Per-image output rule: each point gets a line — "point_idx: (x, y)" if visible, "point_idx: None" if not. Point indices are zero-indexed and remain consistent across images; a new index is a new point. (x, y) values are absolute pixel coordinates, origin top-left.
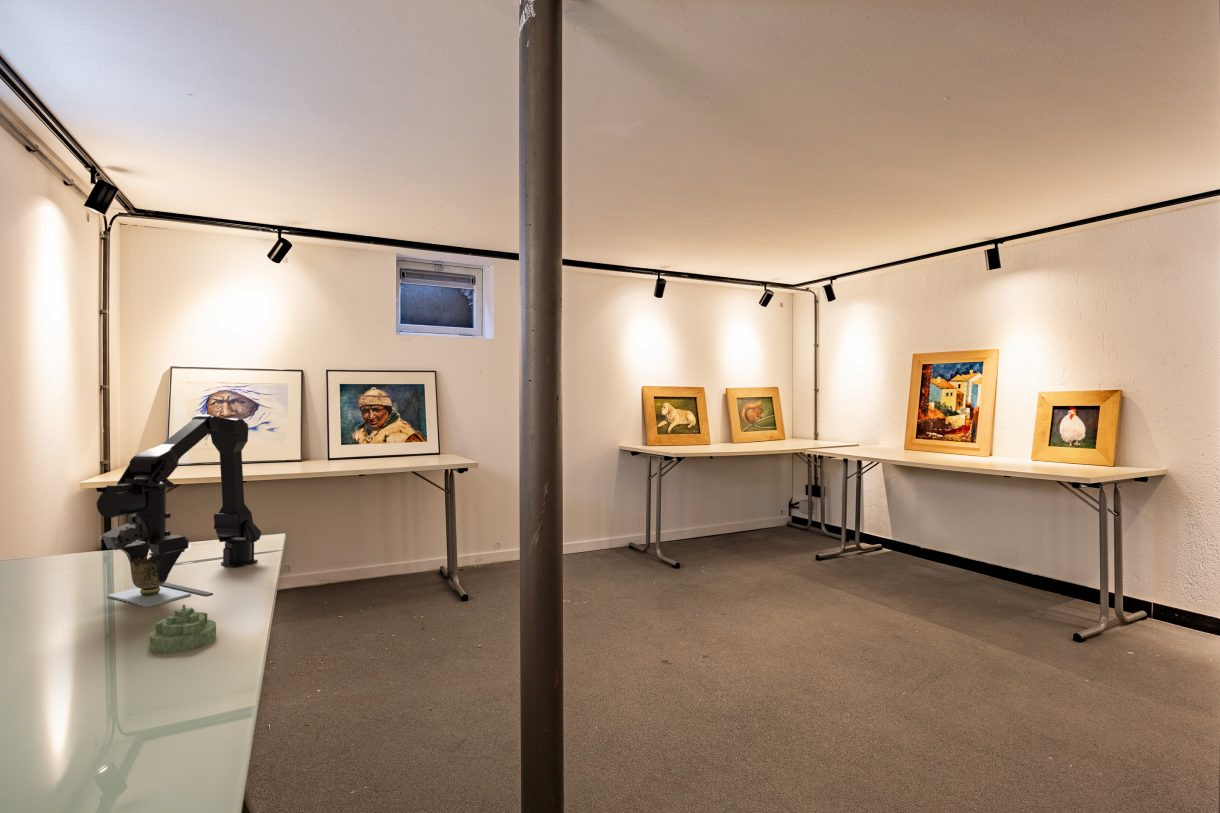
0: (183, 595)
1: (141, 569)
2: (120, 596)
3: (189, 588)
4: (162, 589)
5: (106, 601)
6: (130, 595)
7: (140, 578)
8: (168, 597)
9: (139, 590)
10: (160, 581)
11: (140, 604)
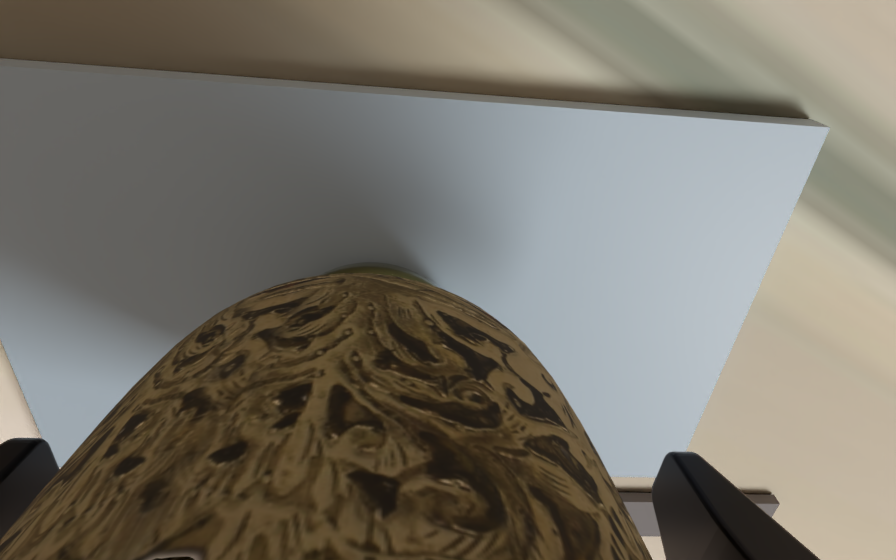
0: (37, 416)
1: (30, 532)
2: (608, 152)
3: None
4: None
5: (676, 3)
6: (531, 221)
7: (190, 353)
8: (65, 331)
9: (610, 352)
10: (5, 442)
11: (58, 66)
